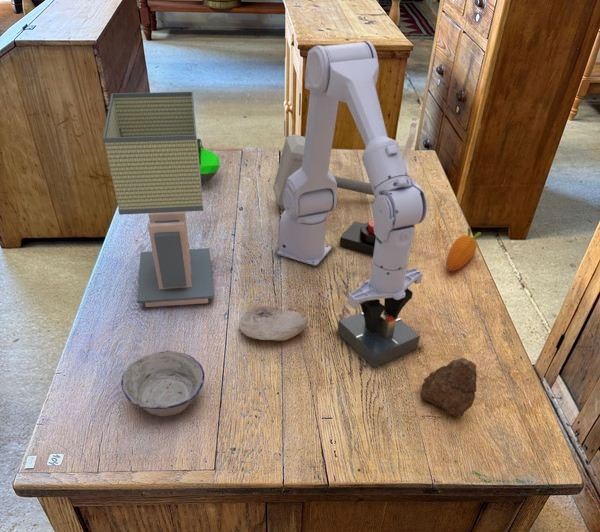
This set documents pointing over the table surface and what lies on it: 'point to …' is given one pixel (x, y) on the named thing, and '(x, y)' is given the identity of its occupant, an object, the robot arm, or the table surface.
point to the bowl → (163, 382)
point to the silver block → (386, 325)
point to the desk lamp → (160, 190)
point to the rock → (452, 386)
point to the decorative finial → (410, 142)
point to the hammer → (293, 162)
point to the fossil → (272, 323)
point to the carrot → (462, 251)
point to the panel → (377, 340)
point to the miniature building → (207, 163)
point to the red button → (371, 226)
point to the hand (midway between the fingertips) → (379, 326)
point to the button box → (359, 238)
